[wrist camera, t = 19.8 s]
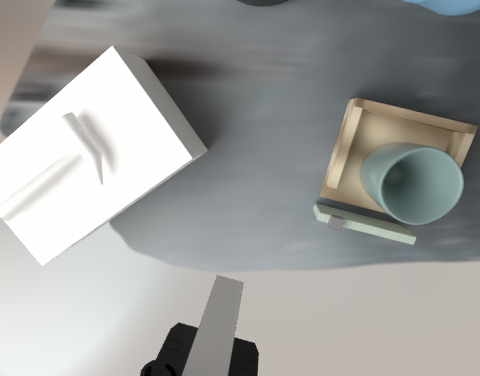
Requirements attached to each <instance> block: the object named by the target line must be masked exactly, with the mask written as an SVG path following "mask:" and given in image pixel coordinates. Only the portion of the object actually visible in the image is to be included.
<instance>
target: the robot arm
mask: <svg viewBox="0 0 480 376" xmlns="http://www.w3.org/2000/svg"><path fill="white" fill-rule="evenodd" d="M238 1H240V2H243V3H245V4H249V5H254V6H271V5H276V4H280V3H283V2H285V1H287V0H238ZM403 1H405V2H411V3H417V4H419V5H421V6H423V7H425V8H427V9H429V10H431V11H433V12H435V13H437V14H440V15H445V16H449V15H452V16H457V15H466V14H469V13H472V12H475V11H478V10H480V0H403ZM243 284H244V283H243V282H241V281H237V280H233V279H229V278H226V277H222V276H218V275H217V277H216V280H215V283H214V285H213V289H212V291H211V294H210V297H209V300H208V302H207V305H206V308H205V311H204V314H203V317H202V320H201V323H200V325H199V328H196V327H193V326H189V325H186V324H182V323H178V324H176V325H175V326H174V327H173V328H171V329H170V331H169V333H168V336H167V337H166V340H165V342H164V344H163V346H162V348H161V350H160V352H159V354H158V356H157V358H156V360H152V361H151V362H149V363H147V364H146V365H145V366H144V367H143V369H142V370H141V375H140V376H257V375H258V374H257V373H258V356H259V353H258V350H257V348H256V345H255V343H253V342H249V341H246V340H242V339H238V338H235V337H234V336H235V330H236V324H237V319H238V313H239V307H240V301H241V296H242V290H243Z"/></svg>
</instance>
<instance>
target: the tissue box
mask: <svg viewBox="0 0 480 376" xmlns="http://www.w3.org/2000/svg"><path fill="white" fill-rule="evenodd" d="M207 151H208V150H207V148H206V147H205V145H204V144H203V142H202V141H201V140H200V138H199V137H198V135H197V134H196V132H195V131H194V130H193V128H192V127H191V125H190V124H189V123H188V121H187V120H186V118H185V117H184V115H183V114H182V113H181V111H180V110H179V108H178V107H177V105H176V104H175V103H174V101H173V100H172V98H171V97H170V95H169V94H168V93H167V91H166V90H165V88H164V87H163V85H162V84H161V83H160V81H159V80H158V78H157V77H156V76H155V74H154V73H153V71H152V70H151V68H150V67H149V66H148V64H147V63H146V61H145V60H143V59H141V58H138V57H136V56H134V55H132V54H130V53H127V52H125V51H123V50H121V49H119V48H116V47H114V46H111V47H110V48H109V49H108V50H107V51H106V52H104V53H103V54H102V55H101V56H100V57H99V58H98V59H97V60H95V61H94V62H93V63H92V64H91V65H90V66H89V67H87V68H86V69H85V70H84V71H83V72H82V73H81V74H80V75H78V76H77V77H76V78H75V79H74V80H73V81H72V82H70V83H69V84H68V85H67V86H66V87H65V88H64V89H63V90H61V91H60V92H59V93H58V94H57V95H56V96H55V97H53V98H52V99H51V100H50V101H49V102H48V103H47V104H46V105H44V106H43V107H42V108H41V109H40V110H39V111H38V112H36V113H35V114H34V115H33V116H32V117H31V118H30V119H29V120H27V121H26V122H25V123H24V124H23V125H22V126H21V127H19V128H18V129H17V130H16V131H15V132H14V133H13V134H12V135H10V136H9V137H8V138H7V139H6V140H5V141H4V142H3V143H2V144H0V217H1V218H2V219H3V220H4V221H5V222H6V223H7V224H8V225H9V227H10V228H11V229H12V230H13V232H15V234H16V235H17V236H18V237H19V239H20V240H21V241H22V242H23V243H24V245H25V246H26V247H27V248H28V249H29V251H30V252H31V253H32V254H33V255H34V257H35V258H36V259H37V260H38V261H39V262H40V264H41V265H44V264H45V263H47V262H49V261H50V260H52V259H53V258H55V257H56V256H58V255H60V254H61V253H63V252H64V251H66V250H67V249H69V248H71V247H72V246H74V245H75V244H77V243H78V242H80V241H82V240H83V239H85V238H86V237H87V236H88V235H90V234H92V233H93V232H94V231H96V230H97V229H99V228H100V227H101V226H103V225H104V224H106V223H107V222H108V221H110V220H111V219H113V218H114V217H115V216H117V215H118V214H120V213H121V212H122V211H124V210H125V209H127V208H128V207H129V206H131V205H132V204H134V203H135V202H137V201H138V200H139V199H141V198H142V197H144V196H145V195H146V194H148V193H149V192H151V191H152V190H153V189H155V188H156V187H158V186H159V185H160V184H162V183H163V182H165V181H166V180H168V179H169V178H170V177H172V176H173V175H175V174H176V173H177V172H179V171H180V170H182V169H183V168H184V167H186V166H187V165H189V164H190V163H191V162H193V161H194V160H196V159H197V158H198V157H200V156H201V155H203V154H204V153H206V152H207Z"/></svg>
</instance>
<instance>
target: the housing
mask: <svg viewBox="0 0 480 376" xmlns="http://www.w3.org/2000/svg"><path fill="white" fill-rule="evenodd" d="M477 129H478V126H475V125H471V124H467V123H462V122H458V121H454V120H450V119H445V118H441V117H437V116H433V115H429V114H424V113H420V112H416V111H412V110H407V109H403V108H399V107H395V106H391V105H386V104H382V103H378V102H374V101H370V100H365V99H361V98H354V99H350V100H349V103H348V106H347V109H346V113H345V116H344V119H343V122H342V125H341V128H340V132H339V135H338V138H337V141H336V144H335V147H334V151H333V154H332V157H331V160H330V163H329V166H328V170H327V173H326V176H325V179H324V182H323V185H322V189H321V192H320V197H324V198H327V199H331V200H335V201H339V202H343V203H347V204H351V205H355V206H359V207H363V208H367V209H371V210H375V211H379V212H383V213H386V214H388V213H387V212H385V211H384V210H383V209H382V208H380V207H379V206H378V205H377V204H376V203H375V202H374V201H373V200H372V199H371V198H370V197H369V196H368V194H367V193H366V192H365V190H364V189H363V187H362V185H361V182H360V178H359V170H360V166H361V164H362V162H363V160H364V159H365V158H366V156H367V155H368V154H369V153H370V152H371V151H373V150H374V149H376V148H377V147H379V146H381V145H384V144H387V143H392V142H410V143H416V144H422V145H428V146H432V147H435V148H438V149H440V150H442V151H444V152H446V153H447V154H449V155H450V156H451V157H452V158H453V159H454V160H455V161H456V162H457V164H458V165H459V167H460V168H461V166H462V164H463V161H464V159H465V157H466V154H467V152H468V150H469V147H470V145H471V143H472V140H473V138H474V136H475V133H476V131H477Z"/></svg>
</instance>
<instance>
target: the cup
mask: <svg viewBox="0 0 480 376" xmlns="http://www.w3.org/2000/svg"><path fill="white" fill-rule="evenodd" d="M359 178H360V182H361V185H362V187H363V189H364V190H365V192H366V193H367V194H368V196H369V197H370V198H371V199H372V200H373V201H374V202H375V203H376V204H377V205H378V206H379V207H380V208H382V209H383V210H384V211H385V212H387V213H388V214H389V215H390V216H392V217H394V218H395V219H397V220H399V221H401V222H404V223H406V224H412V225H422V224H426V223H430V222H432V221H435V220H437V219H439V218H441V217H442V216H444V215H445V214H446V213H448V212H449V211H450V210H451V209H452V208H453V207H454V206H455V205H456V204H457V202H458V200H459V199H460V197H461V195H462V192H463V188H464V179H463V174H462V171H461V169H460V167H459V165H458V164H457V162H456V161H455V160H454V159H453V158H452V157H451V156H450V155H449V154H447V153H446V152H444V151H442V150H440V149H438V148H435V147H432V146H428V145H422V144H416V143H410V142H392V143H387V144H384V145H381V146H379V147H377V148H376V149H374V150H373V151H371V152H370V153H369V154H368V155H367V156H366V158H365V159H364V160H363V162H362V164H361V166H360V170H359Z"/></svg>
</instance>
